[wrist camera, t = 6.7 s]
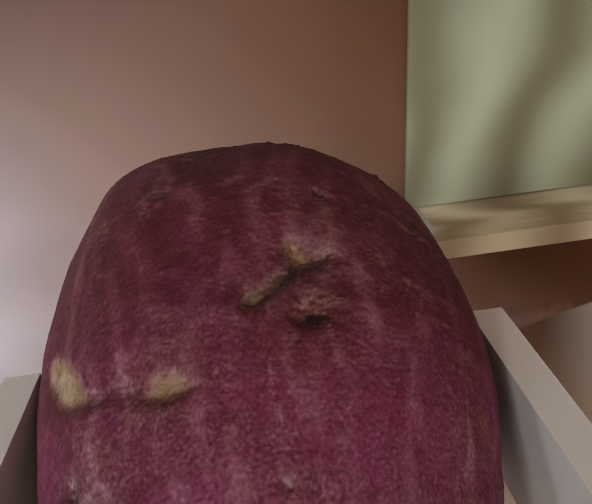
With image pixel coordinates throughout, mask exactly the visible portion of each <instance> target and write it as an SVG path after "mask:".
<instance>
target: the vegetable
mask: <svg viewBox="0 0 592 504" xmlns="http://www.w3.org/2000/svg"><path fill="white" fill-rule="evenodd" d="M36 468H37V504H504V484H503V477H502V465H501V434H500V422H499V411H498V400H497V393H496V388H495V383H494V377H493V372H492V367H491V363H490V359H489V355H488V352H487V348H486V345H485V342H484V339H483V336H482V333H481V331H480V328H479V325H478V322H477V320H476V317H475V315H474V313H473V311H472V308H471V306H470V304H469V302H468V300H467V297H466V295H465V293H464V290H463V288H462V286H461V284H460V283H459V281H458V279H457V278H456V276H455V274H454V272H453V270H452V268H451V266H450V264H449V262H448V260H447V258H446V257H445V255H444V253H443V251H442V250H441V248H440V246H439V245H438V243H437V241H436V240H435V238H434V237H433V235H432V233H431V232H430V230H429V229H428V227H427V226H426V224H425V223H424V222H423V220H422V219H421V217H420V216H419V214H418V213H417V211H416V210H415V209H414V208H413V207H412V206H411V205H410V203H408V202H407V201H406V200H405V199H404V198H403V197H402V196H400V195H399V194H398V193H397V192H396V191H394V190H393V189H391V188H390V187H389V186H387V185H386V184H385V183H384V182H383V181H381V180H379V178H378V176H377V175H371V174H369V173H367V172H365V171H363V170H361V169H359V168H357V167H355V166H353V165H350V164H348V163H346V162H343V161H341V160H339V159H337V158H335V157H331V156H329V155H326V154H323V153H321V152H318V151H316V150H313V149H309V148H304V147H300V146H299V145H293V144H287V143H283V144H274V143H270V142H266V143H253V144H245V145H241V146H233V147H221V148H213V149H208V150H202V151H193V152H188V153H184V154H179V155H174V156H169V157H165V158H160V159H158V160H155V161H152V162H150V163H147V164H145V165H143V166H141V167H139V168H137V169H135V170H133V171H131V172H129V173H128V174H127V175H125V176H124V177H122V178H121V179H120V180H119V181H117V182H116V183H115V185H114V186H112V187H111V188H110V190H109V191H108V192H107V194H106V195H105V197H104V198H103V200H102V202H101V204H100V206H99V208H98V210H97V211H96V213H95V215H94V217H93V219H92V221H91V223H90V225H89V227H88V229H87V231H86V233H85V235H84V237H83V239H82V241H81V243H80V245H79V247H78V249H77V251H76V253H75V255H74V257H73V259H72V261H71V263H70V265H69V268H68V271H67V274H66V277H65V280H64V283H63V286H62V290H61V293H60V296H59V300H58V303H57V307H56V311H55V314H54V318H53V321H52V325H51V328H50V331H49V335H48V339H47V344H46V348H45V353H44V358H43V367H42V375H41V383H40V391H39V399H38V407H37V415H36Z"/></svg>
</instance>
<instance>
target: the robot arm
mask: <svg viewBox="0 0 592 504" xmlns="http://www.w3.org/2000/svg"><path fill="white" fill-rule="evenodd" d="M473 313H474V315H475V317H476V320H477V322H478V325H479V328H480V331H481V333H482V336H483V339H484V342H485V345H486V348H487V352H488V355H489V359H490V363H491V367H492V372H493V377H494V383H495V388H496V393H497V400H498V411H499V422H500V434H501V465H502V477H503V479H504V481H505V483H506V485H507V487H508V488H509V490H510V492H511V494H512V496H513V498H514V500H515V502H516V503H517V504H592V424H591V422H590V421H589V420H588V418H587V417H586V416H585V415H584V413H583V412H582V411H581V410H580V408H579V407H578V406H577V404H576V403H575V402H574V400H573V399H572V398H571V396H570V395H569V394H568V393H567V391H566V390H565V389H564V387H563V386H562V385H561V384H560V382H559V381H558V380H557V378H556V377H555V376H554V374H553V373H552V372H551V371H550V369H549V368H548V367H547V365H546V364H545V363H544V361H543V360H542V359H541V358H540V357H539V355H538V354H537V352H536V351H535V350H534V349H533V347H532V346H531V345H530V343H529V342H528V341H527V340H526V338H525V337H524V336H523V334H522V333H521V332H520V330H519V329H518V328H517V327H516V325H515V324H514V323H513V321H512V320H511V319H510V317H509V316H508V315H507V314H506V312H505V311H504V310H503V308H502V307H499V308H492V309H485V310H478V311H473ZM40 383H41V374H40V373H38V374H31V375H24V376H17V377H10V378H5V379H4V381H3V383H2V385H1V387H0V504H37V468H36V415H37V407H38V399H39V391H40Z"/></svg>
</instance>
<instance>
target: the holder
mask: <svg viewBox="0 0 592 504" xmlns="http://www.w3.org/2000/svg"><path fill="white" fill-rule="evenodd" d="M404 199H405V200H406V201H407V202H408V203H410V205H411V206H412V207H418V208H419V210H420V211H421V212H422V214H423V215H424V216H425V218H426V219H427V220H428V222H429V223H430V224H431V226H432V227H433V228H434V230H435V231H436V232H431V233H432V235H433V237H434V238H435V240H436V241H437V243H438V245H439V246H440V248H441V250H442V251H443V253H444V255H445V257H446V258H447V259H450V258H457V257H464V256H471V255H478V254H485V253H492V252H499V251H506V250H513V249H520V248H528V247H535V246H542V245H549V244H556V243H563V242H570V241H577V240H584V239H591V238H592V0H408V19H407V76H406V134H405V191H404Z"/></svg>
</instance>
